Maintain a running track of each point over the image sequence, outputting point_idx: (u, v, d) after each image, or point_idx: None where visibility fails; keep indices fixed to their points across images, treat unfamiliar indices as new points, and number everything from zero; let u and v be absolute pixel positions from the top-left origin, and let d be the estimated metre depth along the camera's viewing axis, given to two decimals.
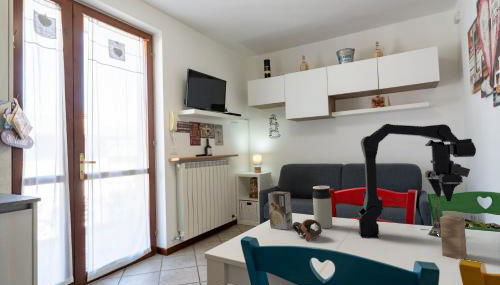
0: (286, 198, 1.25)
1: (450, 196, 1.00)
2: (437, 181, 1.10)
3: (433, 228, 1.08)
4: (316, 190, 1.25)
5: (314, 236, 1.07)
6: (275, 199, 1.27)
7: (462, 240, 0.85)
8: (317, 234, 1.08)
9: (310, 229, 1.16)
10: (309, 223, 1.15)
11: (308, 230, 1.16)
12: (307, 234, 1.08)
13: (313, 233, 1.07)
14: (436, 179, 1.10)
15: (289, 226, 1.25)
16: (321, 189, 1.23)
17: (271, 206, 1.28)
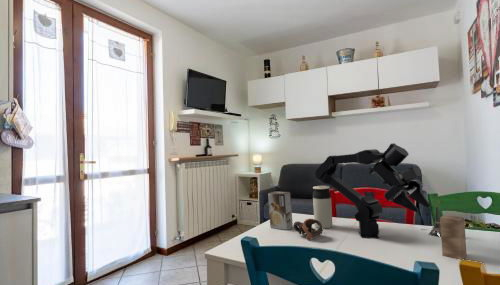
0: (286, 198, 1.25)
1: (412, 206, 0.92)
2: (415, 193, 1.01)
3: (434, 228, 1.08)
4: (316, 190, 1.25)
5: (315, 235, 1.08)
6: (275, 199, 1.27)
7: (462, 240, 0.85)
8: (318, 233, 1.08)
9: (311, 229, 1.17)
10: (310, 223, 1.16)
11: (309, 230, 1.17)
12: (308, 233, 1.08)
13: (314, 232, 1.08)
14: (413, 191, 1.02)
15: (289, 226, 1.25)
16: (321, 189, 1.23)
17: (271, 206, 1.28)
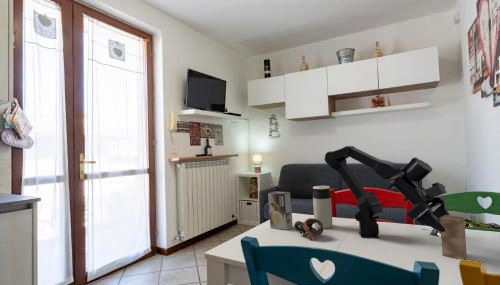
0: (286, 198, 1.25)
1: (439, 226, 0.86)
2: (439, 210, 0.95)
3: None
4: (316, 190, 1.25)
5: (316, 235, 1.09)
6: (275, 199, 1.27)
7: (462, 240, 0.85)
8: (319, 233, 1.09)
9: (312, 228, 1.17)
10: (311, 222, 1.16)
11: (310, 229, 1.18)
12: (309, 233, 1.09)
13: (315, 232, 1.08)
14: (437, 209, 0.96)
15: (289, 226, 1.25)
16: (321, 189, 1.23)
17: (271, 206, 1.28)
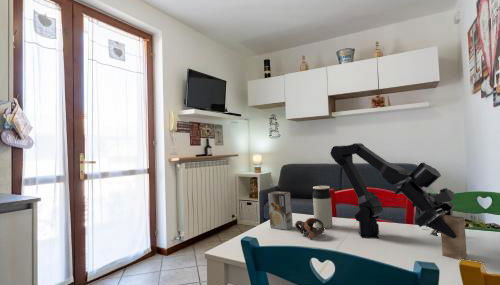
0: (286, 198, 1.25)
1: (450, 231, 0.85)
2: None
3: None
4: (316, 190, 1.25)
5: (317, 234, 1.09)
6: (275, 199, 1.27)
7: (462, 240, 0.85)
8: (320, 232, 1.10)
9: (312, 228, 1.18)
10: (311, 222, 1.17)
11: (310, 229, 1.18)
12: (310, 232, 1.09)
13: (316, 231, 1.09)
14: None
15: (289, 226, 1.25)
16: (321, 189, 1.23)
17: (271, 206, 1.28)
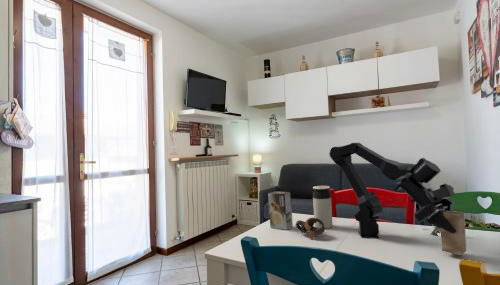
0: (286, 198, 1.25)
1: (449, 227, 0.85)
2: None
3: (436, 228, 1.08)
4: (316, 190, 1.25)
5: (318, 234, 1.09)
6: (275, 199, 1.27)
7: (461, 235, 0.85)
8: (320, 232, 1.10)
9: (313, 227, 1.18)
10: (312, 221, 1.17)
11: (311, 228, 1.19)
12: (311, 232, 1.10)
13: (317, 231, 1.09)
14: (442, 211, 0.93)
15: (289, 226, 1.25)
16: (321, 189, 1.23)
17: (271, 206, 1.28)
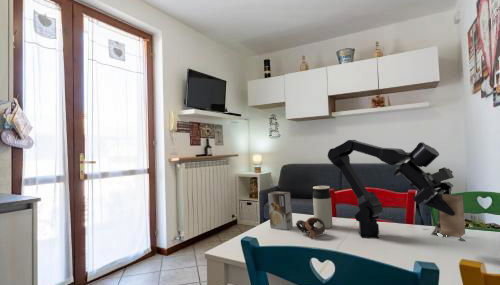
0: (286, 198, 1.25)
1: (448, 209, 0.86)
2: None
3: (436, 228, 1.08)
4: (316, 190, 1.25)
5: (318, 234, 1.10)
6: (275, 199, 1.27)
7: (460, 218, 0.86)
8: (321, 232, 1.10)
9: (313, 227, 1.19)
10: (312, 221, 1.18)
11: (311, 228, 1.19)
12: (311, 232, 1.10)
13: (317, 231, 1.10)
14: (441, 195, 0.93)
15: (289, 226, 1.25)
16: (321, 189, 1.23)
17: (271, 206, 1.28)
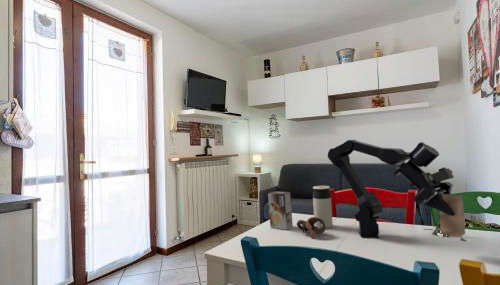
0: (286, 198, 1.25)
1: (448, 209, 0.86)
2: None
3: (437, 228, 1.08)
4: (316, 190, 1.25)
5: (319, 233, 1.10)
6: (275, 199, 1.27)
7: (460, 218, 0.86)
8: (322, 231, 1.11)
9: (314, 227, 1.19)
10: (313, 221, 1.18)
11: (312, 228, 1.19)
12: (312, 231, 1.11)
13: (318, 230, 1.10)
14: (441, 195, 0.93)
15: (289, 226, 1.25)
16: (321, 189, 1.23)
17: (271, 206, 1.28)
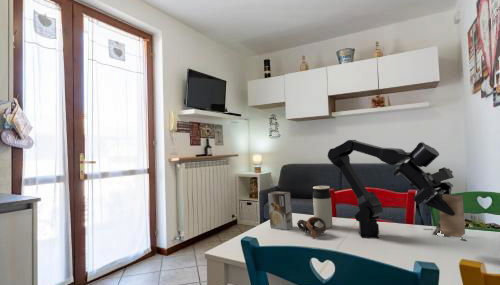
0: (286, 198, 1.25)
1: (448, 209, 0.86)
2: None
3: (437, 228, 1.08)
4: (316, 190, 1.25)
5: (319, 233, 1.11)
6: (275, 199, 1.27)
7: (460, 218, 0.86)
8: (322, 231, 1.11)
9: (314, 226, 1.20)
10: (313, 221, 1.18)
11: None
12: (313, 231, 1.11)
13: (318, 230, 1.10)
14: (441, 195, 0.93)
15: (289, 226, 1.25)
16: (321, 189, 1.23)
17: (271, 206, 1.28)
